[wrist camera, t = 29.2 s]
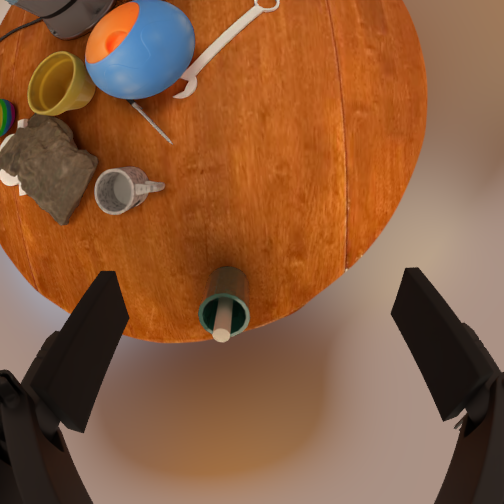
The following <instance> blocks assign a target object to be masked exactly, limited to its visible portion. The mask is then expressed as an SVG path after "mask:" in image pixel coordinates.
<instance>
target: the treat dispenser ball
mask: <svg viewBox="0 0 504 504" xmlns="http://www.w3.org/2000/svg"><path fill="white" fill-rule="evenodd" d="M194 49H195V35H194V29H193V26H192V24H191V22H190V20H189V19H188V17H187V16H186V15H185V14H184V13H183V12H182V11H181V10H180V9H179V8H177V7H176V6H174V5H172V4H170V3H168V2H165V1H161V0H134V1H131V2H128V3H125V4H122V5H120V6H118V7H117V8H115V9H114V10H112V11H111V12H109V13H108V14H106V15H105V16H104V17H103V18H102V19H101V20H100V21H99V22H98V23H97V25H96V26H95V27H94V29H93V31H92V32H91V34H90V37H89V39H88V42H87V46H86V52H85V63H86V69H87V71H88V73H89V75H90V77H91V79H92V80H93V82H94V83H95V85H96V86H97V87H98V88H100V89H101V90H102V91H104V92H105V93H107V94H109V95H111V96H114V97H117V98H121V99H141V98H146V97H150V96H153V95H156V94H158V93H160V92H162V91H163V90H165V89H167V88H168V87H170V86H171V85H172V84H174V83H175V82H176V81H177V80H178V79H179V78H180V77H181V76H182V75H183V73H184V72H185V71H186V69H187V68H188V66H189V64H190V62H191V60H192V57H193V53H194Z"/></svg>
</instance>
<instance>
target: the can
mask: <svg viewBox="0 0 504 504" xmlns="http://www.w3.org/2000/svg"><path fill="white" fill-rule="evenodd" d="M221 297H227V298H230V299H233V307H232V319H231V331H230V337H232V336H235V335H237V334H240V333H242V332H243V330H244V329H245V328H246V327H247V326H248V323H249V321H250V289H249V281H248V279H247V277H246V275H245V274H244V273H243V272H242V271H241V270H239V269H237V268H234V267H229V266H225V267H220V268H218V269H216V270H215V271H213V272H212V273H211V274H210V276H209V278H208V280H207V283H206V287H205V290H204V294H203V297H202V300H201V304H200V308H199V312H198V316H199V321H200V323H201V325H202V326H203V327H204V329H205V330H206V331H208V332H209V333H211V334H213V329H214V324H215V318H216V312H217V307H218V301H219V298H221Z"/></svg>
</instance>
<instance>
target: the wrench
mask: <svg viewBox="0 0 504 504" xmlns="http://www.w3.org/2000/svg"><path fill="white" fill-rule="evenodd" d="M275 1H276V2H277V5H276V6H275V7H273V8H270V9H266V8H262V7H260V6H259V5H258V3H257V0H254V4H255V6H254V7H253V8H251V9H250V10H249V11H248V12H247V13H245V14H244V15H243V16H242V17H241V18H240V19H238V20H237V21H236V22H235V23H234V24H233V25H232V26H230V27H229V28H228V29H227V30H226V31H225V32H224V33H223V34H222V35H221V36H220V37H219V38H218V39H217V40H215V41H214V42H213V43H212V44H211V45H210V46H209V47H208V48H207V49H206V50H205V51H204V52H203V53H202V54H201V55H200V56H199V57H198V59H197V60H196V61H195V62H194V63H193V64H192V65H191V66H190V67H189V68H188V69H187V70H186V71H185V72H184V73H183V75H182V76H181V77H180V78H181V79H184V80H187V81H188V84H187V86H186V88H185V90H184V91H183V92H181V93H179V94H177V95H175V96H173V97H174V98H177V99H183V98H186V97H188V96H190V95H192V93H193V92H194V91H195V89H196V87H197V78H196V77H195V76H196V75H197V74H198V73H199V72H200V71H201V70H202V69H203V68H204V66H205V65H206V64H207V63H208V62H209V61H210V60H211V59H212V58H213V57H214V56H215V55H216V54H217V53H218V52H219V51H220V50H221V49H222V48H223V47H224V46H225V45H226V44H227V43H228V42H229V41H231V40H232V39H233V38H234V37H235V36H236V35H237V34H238V33H239V32H240V31H241V30H242V29H244V28H245V27H246V26H247V25H248V24H249V23H250V22H252V21H253V20H254V19H255V18H256V17H257V16H259V15H260V14H261V13H262V12H272V11H275V10H276V9H277V8H278V7H279V4H280V2H279V0H275Z"/></svg>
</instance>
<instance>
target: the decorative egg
mask: <svg viewBox="0 0 504 504" xmlns="http://www.w3.org/2000/svg"><path fill="white" fill-rule="evenodd" d="M14 119H15V109H14V106H13V105H12V103H11V102H9V101H8V100H5V99H0V136H2V135H4V134H5V133H6V132H7V131H8V130H9V129H10V128H11V126H12V125H13V123H14Z"/></svg>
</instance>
